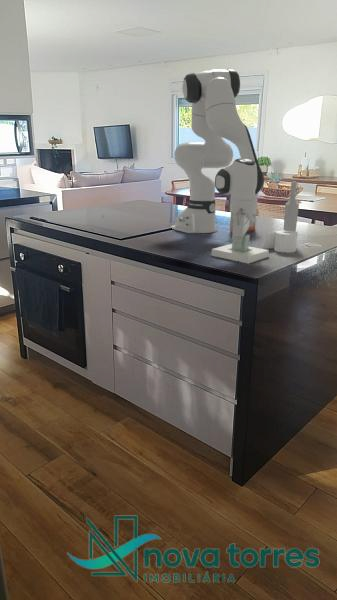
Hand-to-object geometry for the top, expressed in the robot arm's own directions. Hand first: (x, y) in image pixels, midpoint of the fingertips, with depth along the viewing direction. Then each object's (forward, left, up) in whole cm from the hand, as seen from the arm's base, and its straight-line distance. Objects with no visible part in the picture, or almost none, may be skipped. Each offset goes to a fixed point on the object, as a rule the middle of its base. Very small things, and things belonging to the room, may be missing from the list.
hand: (240, 245), depth 162 cm
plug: (0, 0, -2) cm, 2 cm away
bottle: (+4, +28, -4) cm, 29 cm away
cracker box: (-26, +40, -4) cm, 48 cm away
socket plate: (0, 0, -4) cm, 4 cm away
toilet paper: (+5, +20, -4) cm, 21 cm away
